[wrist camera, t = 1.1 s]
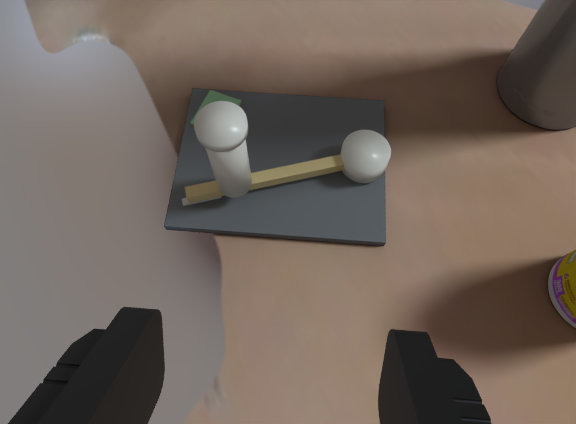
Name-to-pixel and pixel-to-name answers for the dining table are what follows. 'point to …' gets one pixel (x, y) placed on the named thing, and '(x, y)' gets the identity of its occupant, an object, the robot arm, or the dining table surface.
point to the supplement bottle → (564, 287)
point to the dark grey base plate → (277, 153)
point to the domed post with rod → (239, 180)
